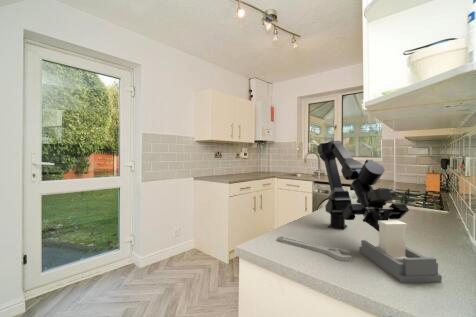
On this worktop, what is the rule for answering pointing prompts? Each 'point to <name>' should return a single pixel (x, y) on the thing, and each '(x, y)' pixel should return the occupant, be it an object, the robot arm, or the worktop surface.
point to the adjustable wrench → (320, 249)
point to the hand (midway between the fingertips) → (387, 236)
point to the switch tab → (392, 238)
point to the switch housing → (404, 264)
